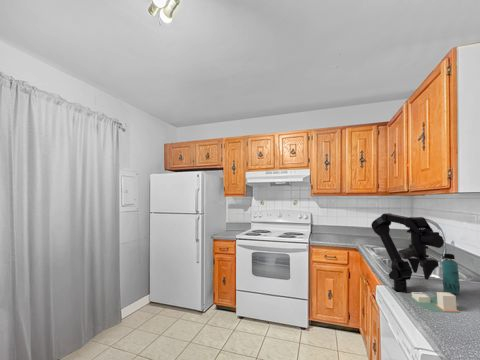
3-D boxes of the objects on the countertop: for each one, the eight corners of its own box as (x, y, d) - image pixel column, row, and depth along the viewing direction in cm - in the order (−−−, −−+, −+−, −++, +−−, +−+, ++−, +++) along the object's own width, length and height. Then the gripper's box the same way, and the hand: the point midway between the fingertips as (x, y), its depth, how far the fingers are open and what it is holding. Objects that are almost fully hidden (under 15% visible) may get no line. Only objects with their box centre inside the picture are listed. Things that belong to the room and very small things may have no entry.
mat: (407, 296, 120) (407, 295, 120) (436, 297, 118) (436, 296, 118) (427, 312, 104) (426, 311, 104) (460, 313, 102) (460, 312, 102)
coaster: (435, 305, 110) (435, 304, 110) (449, 305, 109) (449, 304, 109) (444, 311, 104) (444, 310, 104) (459, 312, 103) (459, 311, 103)
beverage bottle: (440, 292, 123) (437, 253, 124) (448, 290, 125) (445, 251, 127) (455, 297, 117) (452, 256, 118) (463, 295, 119) (460, 254, 120)
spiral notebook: (411, 296, 119) (411, 292, 119) (422, 297, 118) (422, 292, 118) (418, 302, 113) (418, 297, 113) (430, 302, 112) (430, 297, 112)
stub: (437, 305, 108) (436, 291, 109) (450, 305, 108) (449, 292, 108) (443, 309, 105) (442, 295, 105) (456, 310, 104) (455, 295, 104)
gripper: (391, 239, 126) (393, 269, 125) (410, 247, 108) (413, 283, 107) (414, 239, 124) (416, 269, 124) (438, 247, 106) (440, 283, 105)
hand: (420, 276), depth 115 cm, fingers open, 9 cm apart
